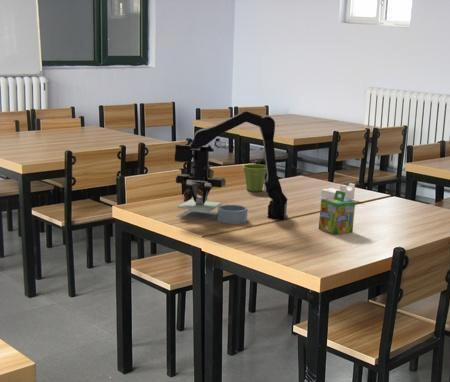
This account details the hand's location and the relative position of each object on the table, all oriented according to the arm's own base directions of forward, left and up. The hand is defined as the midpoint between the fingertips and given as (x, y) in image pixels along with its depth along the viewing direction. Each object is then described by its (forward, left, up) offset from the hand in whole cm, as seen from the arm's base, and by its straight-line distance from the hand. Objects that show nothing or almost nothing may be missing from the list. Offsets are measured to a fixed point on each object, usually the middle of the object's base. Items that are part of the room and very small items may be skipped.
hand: (199, 202), depth 274 cm
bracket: (-43, -59, -6) cm, 73 cm away
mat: (0, 0, -5) cm, 5 cm away
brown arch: (+11, -21, -6) cm, 24 cm away
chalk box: (-53, -2, -6) cm, 53 cm away
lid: (0, 0, -2) cm, 2 cm away
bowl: (-14, +2, -5) cm, 15 cm away
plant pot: (-4, -58, -5) cm, 58 cm away
